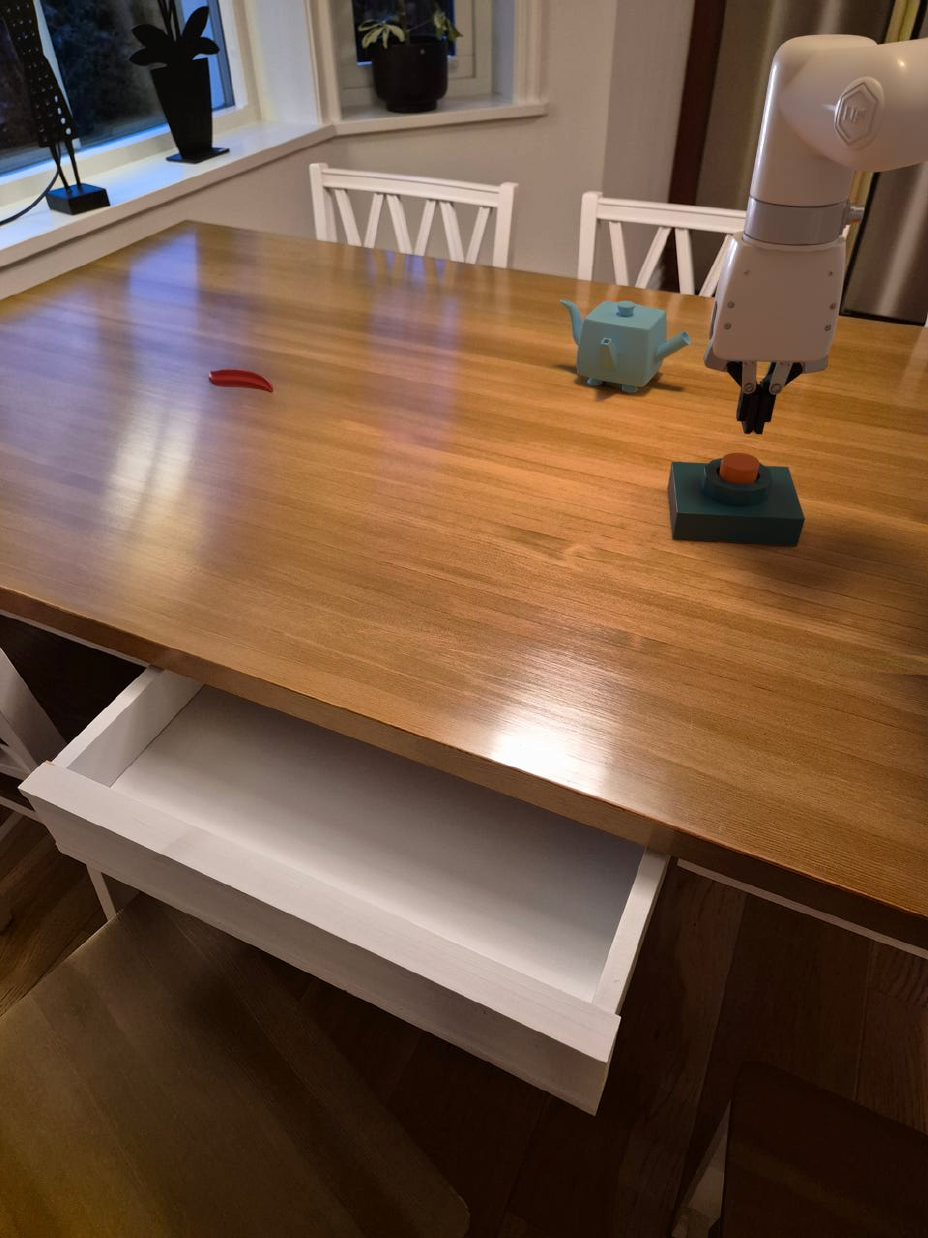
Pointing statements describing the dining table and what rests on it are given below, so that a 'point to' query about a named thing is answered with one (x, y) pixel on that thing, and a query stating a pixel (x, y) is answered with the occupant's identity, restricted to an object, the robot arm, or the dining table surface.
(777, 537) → the teal box orange button
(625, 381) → the teapot
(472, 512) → the dining table surface
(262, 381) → the cayenne pepper
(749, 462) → the orange round cap
